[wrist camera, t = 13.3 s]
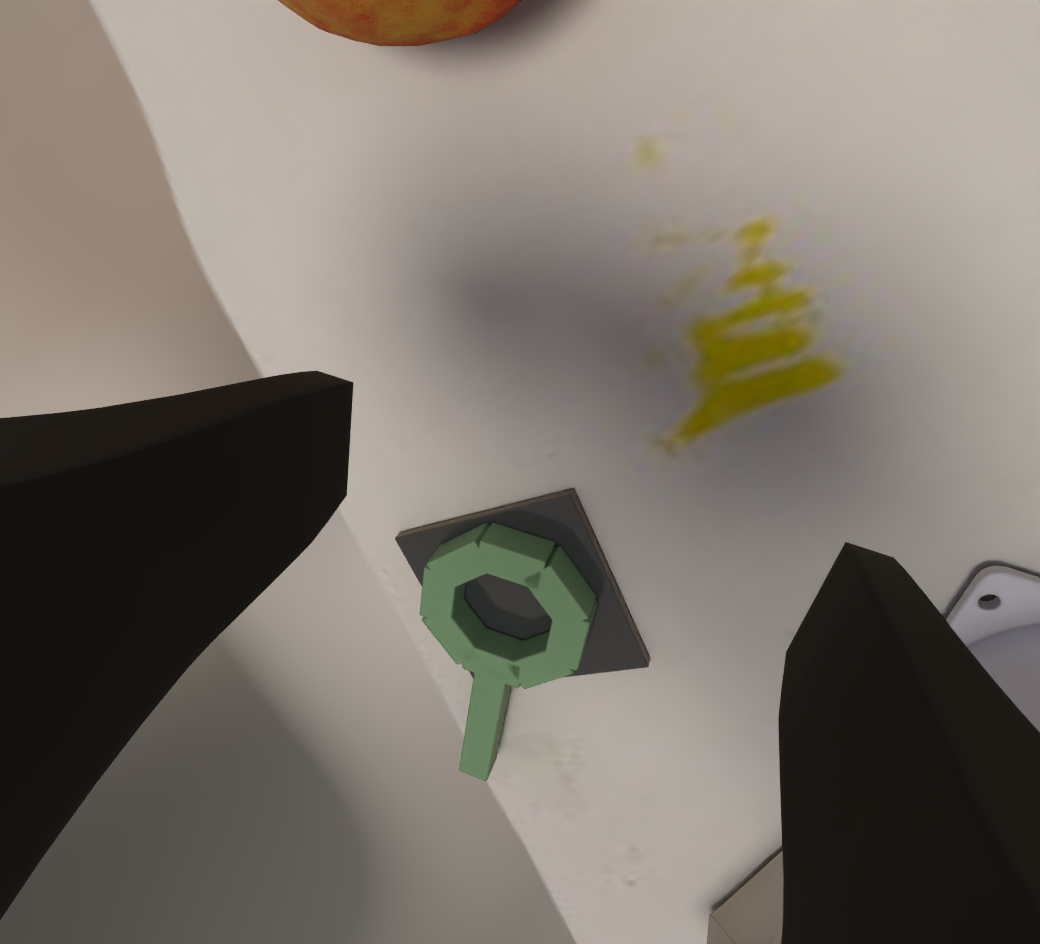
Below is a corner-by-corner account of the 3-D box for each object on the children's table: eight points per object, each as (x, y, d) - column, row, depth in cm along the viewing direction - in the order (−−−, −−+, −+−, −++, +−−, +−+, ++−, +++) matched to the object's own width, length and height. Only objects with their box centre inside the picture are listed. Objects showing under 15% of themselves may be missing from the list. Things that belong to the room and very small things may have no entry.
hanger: (442, 505, 24) (427, 524, 23) (609, 558, 23) (601, 580, 22) (418, 728, 30) (405, 750, 29) (550, 778, 28) (541, 803, 28)
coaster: (650, 659, 24) (648, 667, 24) (481, 680, 28) (478, 687, 27) (573, 488, 22) (570, 494, 22) (399, 532, 25) (394, 538, 25)
